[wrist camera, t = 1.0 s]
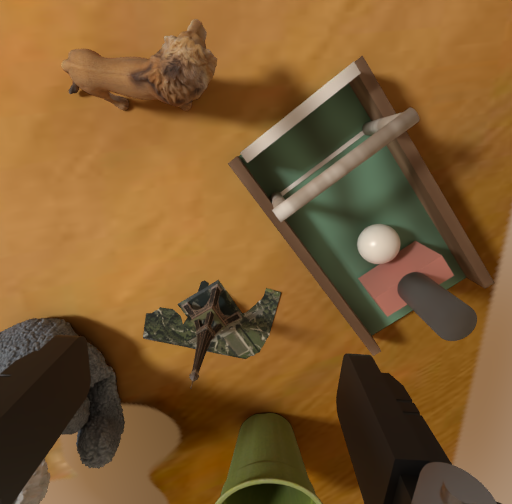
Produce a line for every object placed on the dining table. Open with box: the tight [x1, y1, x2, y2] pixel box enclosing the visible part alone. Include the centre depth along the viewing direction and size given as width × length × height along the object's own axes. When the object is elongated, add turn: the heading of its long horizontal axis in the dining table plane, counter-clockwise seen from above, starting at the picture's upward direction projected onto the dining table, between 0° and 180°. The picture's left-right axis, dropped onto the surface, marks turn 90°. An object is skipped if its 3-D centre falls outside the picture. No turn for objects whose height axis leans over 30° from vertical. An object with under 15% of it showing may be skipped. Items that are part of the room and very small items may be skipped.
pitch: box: [228, 56, 494, 356], centre depth 29 cm, size 14×25×10 cm, turn 37°
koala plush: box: [0, 318, 125, 504], centre depth 31 cm, size 17×18×20 cm
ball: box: [357, 224, 400, 264], centre depth 32 cm, size 4×4×4 cm
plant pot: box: [215, 413, 322, 504], centre depth 37 cm, size 12×12×11 cm
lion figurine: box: [61, 19, 217, 111], centre depth 26 cm, size 15×5×9 cm, turn 96°
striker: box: [358, 241, 477, 341], centre depth 29 cm, size 7×3×12 cm, turn 127°
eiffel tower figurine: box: [143, 280, 281, 389], centre depth 32 cm, size 15×10×13 cm
